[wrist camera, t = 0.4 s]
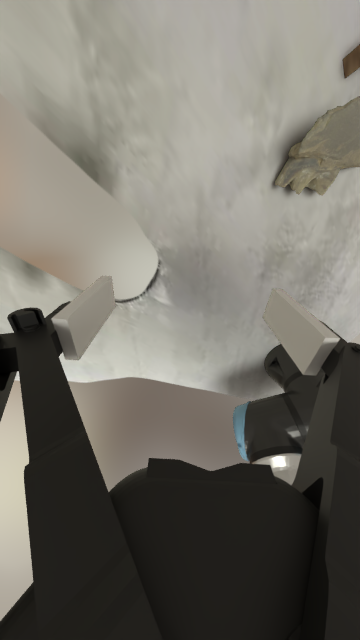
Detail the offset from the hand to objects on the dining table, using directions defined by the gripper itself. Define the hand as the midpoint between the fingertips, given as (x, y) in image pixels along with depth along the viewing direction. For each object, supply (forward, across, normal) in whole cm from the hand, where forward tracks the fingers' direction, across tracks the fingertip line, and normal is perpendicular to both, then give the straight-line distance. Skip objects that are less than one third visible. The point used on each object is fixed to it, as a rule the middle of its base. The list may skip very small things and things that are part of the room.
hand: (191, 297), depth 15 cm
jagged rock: (+27, -21, -15) cm, 37 cm away
